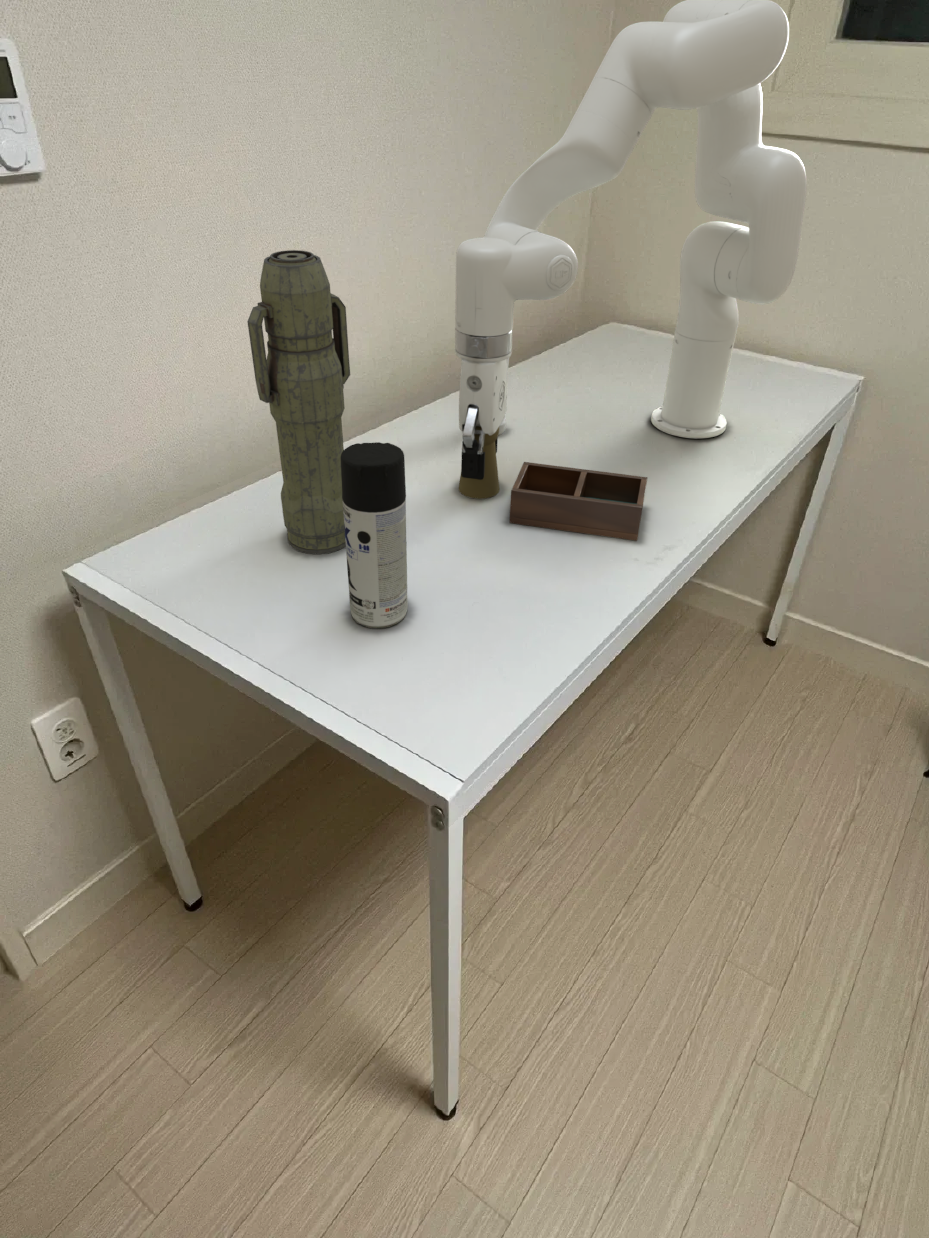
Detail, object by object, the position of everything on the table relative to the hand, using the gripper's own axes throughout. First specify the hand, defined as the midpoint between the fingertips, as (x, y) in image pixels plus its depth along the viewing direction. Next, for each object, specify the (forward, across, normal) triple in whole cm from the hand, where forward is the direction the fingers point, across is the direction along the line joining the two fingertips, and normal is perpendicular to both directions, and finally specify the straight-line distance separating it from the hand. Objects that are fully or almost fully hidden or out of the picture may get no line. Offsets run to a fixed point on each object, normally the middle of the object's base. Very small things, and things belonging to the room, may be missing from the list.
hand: (479, 464), depth 119 cm
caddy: (+4, -4, -15) cm, 16 cm away
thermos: (+4, -19, +17) cm, 26 cm away
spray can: (+4, -33, +4) cm, 34 cm away
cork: (+4, 0, 0) cm, 4 cm away
